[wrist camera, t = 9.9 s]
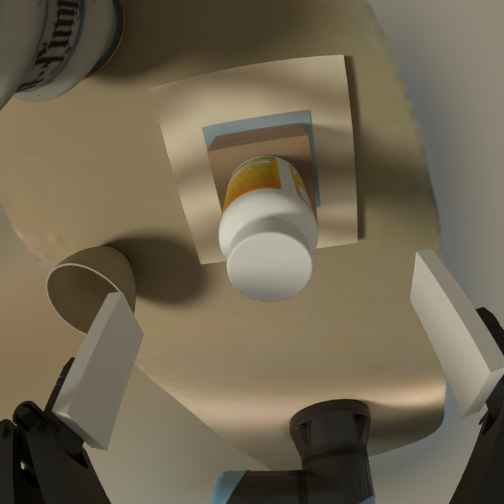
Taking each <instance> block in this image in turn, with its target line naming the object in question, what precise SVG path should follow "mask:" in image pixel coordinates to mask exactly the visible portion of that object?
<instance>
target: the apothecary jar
mask: <svg viewBox="0 0 504 504" xmlns="http://www.w3.org/2000/svg"><path fill="white" fill-rule="evenodd" d="M124 31H125V11H124V7H123V4H122V2H121V0H0V110H1V109H2V108H3V107H4V106H5V105H6V104H7V102H8V101H9V100H10V99H11V97H12V96H14V97H16V98H18V99H20V100H23V101H28V102H42V101H46V100H50V99H53V98H56V97H58V96H60V95H62V94H64V93H66V92H67V91H69V90H70V89H72V88H73V87H74V86H76V85H77V84H78V83H79V82H80V81H81V80H82V79H85V78H88V77H90V76H92V75H94V74H96V73H97V72H98V71H99V70H101V69H102V68H103V67H104V66H105V65H106V64H107V63H108V62H109V61H110V60H111V58H112V57H113V56H114V54H115V53H116V51H117V50H118V48H119V46H120V44H121V41H122V38H123V35H124Z"/></svg>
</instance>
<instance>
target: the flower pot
mask: <svg viewBox="0 0 504 504" xmlns="http://www.w3.org/2000/svg"><path fill="white" fill-rule="evenodd" d="M46 291H47V296H48V298H49V301H50V303H51V305H52V307H53V308H54V309H55V311H56V313H57V314H58V315H59V316H60V317H61V318H62V320H64V321H65V322H66V323H67V324H68V325H69V326H71V327H72V328H74V329H75V330H77V331H78V332H80V333H82V334H84V335H87V333H88V331H89V329H90V327H91V325H92V324H93V322H94V320H95V318H96V316H97V314H98V312H99V310H100V308H101V306H102V305H103V303H104V301H105V299H106V297H107V295H108V294H109V293H115V292H123V294H124V296H125V298H126V300H127V302H128V304H129V306H130V308H131V310H132V312H133V314H134V312H135V302H136V289H135V281H134V275H133V272H132V269H131V266H130V263H129V261H128V259H127V258H126V257H125V255H124V254H122V253H121V252H120V251H118V250H117V249H115V248H112V247H107V246H100V247H92V248H88V249H85V250H82V251H79V252H77V253H75V254H73V255H71V256H69V257H67V258H66V259H64V260H63V261H61V262H60V263H59V264H58V265H57V266H55V267H54V268H53V269H52V270H51V271H50V273H49V275H48V277H47V280H46Z"/></svg>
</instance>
